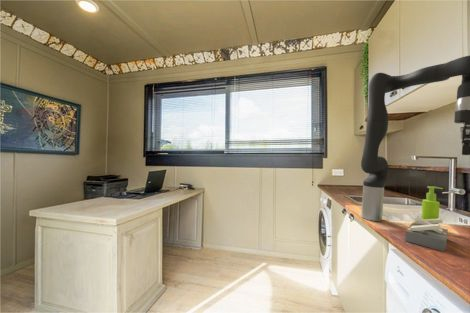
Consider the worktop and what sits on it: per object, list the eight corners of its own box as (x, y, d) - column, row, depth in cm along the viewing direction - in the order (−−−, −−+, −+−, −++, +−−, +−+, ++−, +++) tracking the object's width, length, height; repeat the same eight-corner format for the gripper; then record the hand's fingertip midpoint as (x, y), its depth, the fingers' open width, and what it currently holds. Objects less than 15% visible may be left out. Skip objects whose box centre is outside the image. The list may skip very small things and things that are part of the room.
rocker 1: (417, 222, 92) (416, 219, 92) (442, 221, 86) (441, 218, 86) (416, 224, 89) (415, 221, 90) (442, 222, 84) (441, 219, 84)
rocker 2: (416, 218, 87) (417, 216, 87) (440, 232, 82) (442, 229, 81) (414, 219, 85) (416, 217, 85) (440, 233, 80) (442, 231, 79)
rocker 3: (413, 229, 84) (411, 226, 84) (440, 227, 78) (439, 223, 78) (411, 230, 81) (410, 227, 82) (439, 228, 76) (438, 225, 76)
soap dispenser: (443, 231, 94) (446, 188, 94) (426, 229, 96) (429, 187, 95) (434, 227, 100) (437, 186, 100) (417, 225, 101) (420, 185, 101)
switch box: (412, 230, 94) (412, 218, 94) (447, 238, 86) (448, 226, 86) (404, 240, 82) (405, 227, 82) (444, 251, 74) (445, 236, 73)
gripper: (455, 113, 86) (452, 155, 87) (454, 108, 78) (451, 154, 78) (483, 111, 81) (480, 155, 81) (485, 105, 72) (482, 155, 72)
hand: (466, 155), depth 80 cm, fingers closed
